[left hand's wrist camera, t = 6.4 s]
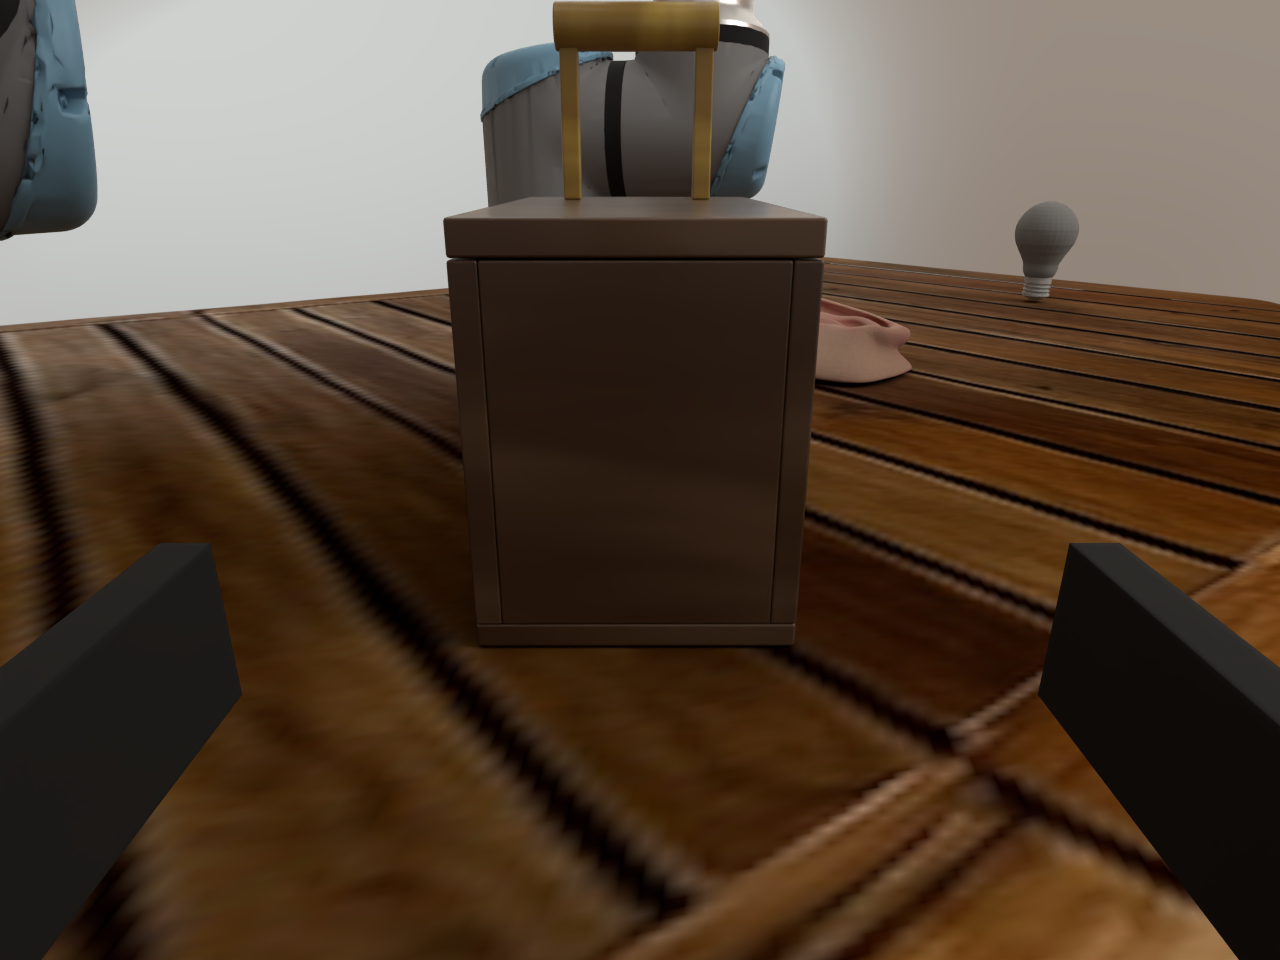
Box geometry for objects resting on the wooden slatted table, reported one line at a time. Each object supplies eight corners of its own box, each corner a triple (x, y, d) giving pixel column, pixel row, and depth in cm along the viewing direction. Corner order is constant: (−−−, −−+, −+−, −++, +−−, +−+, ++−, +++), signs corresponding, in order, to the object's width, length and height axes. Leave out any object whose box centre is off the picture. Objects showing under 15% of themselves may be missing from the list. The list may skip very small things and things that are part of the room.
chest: (540, 460, 40) (529, 221, 36) (733, 460, 40) (744, 221, 36) (477, 647, 24) (445, 260, 20) (794, 647, 24) (825, 260, 20)
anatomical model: (909, 327, 50) (731, 314, 54) (901, 389, 52) (728, 372, 56) (927, 298, 62) (779, 289, 66) (921, 349, 63) (776, 338, 67)
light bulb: (1014, 303, 85) (1030, 202, 81) (997, 295, 91) (1012, 200, 87) (1074, 304, 84) (1093, 202, 81) (1053, 296, 90) (1071, 200, 86)
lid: (530, 219, 36) (521, 18, 33) (742, 219, 36) (751, 18, 33) (445, 258, 20) (414, -123, 17) (825, 258, 20) (854, -122, 17)
